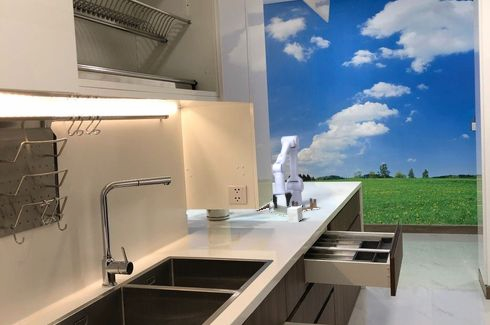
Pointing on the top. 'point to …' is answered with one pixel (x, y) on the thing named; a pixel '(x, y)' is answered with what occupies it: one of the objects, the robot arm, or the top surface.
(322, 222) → the top surface
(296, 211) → the product box
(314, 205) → the stand
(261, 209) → the food container
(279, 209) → the rail
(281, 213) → the mat
